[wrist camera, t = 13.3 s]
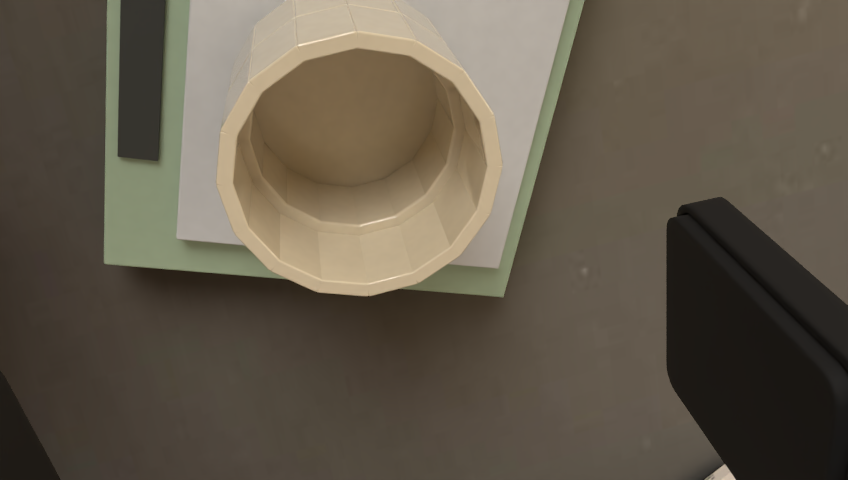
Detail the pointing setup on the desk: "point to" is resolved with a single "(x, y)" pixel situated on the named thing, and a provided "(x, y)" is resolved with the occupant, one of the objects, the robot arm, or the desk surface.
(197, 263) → the scale
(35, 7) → the desk surface
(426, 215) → the beige cup
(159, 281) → the desk surface
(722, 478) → the newspaper
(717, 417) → the robot arm
